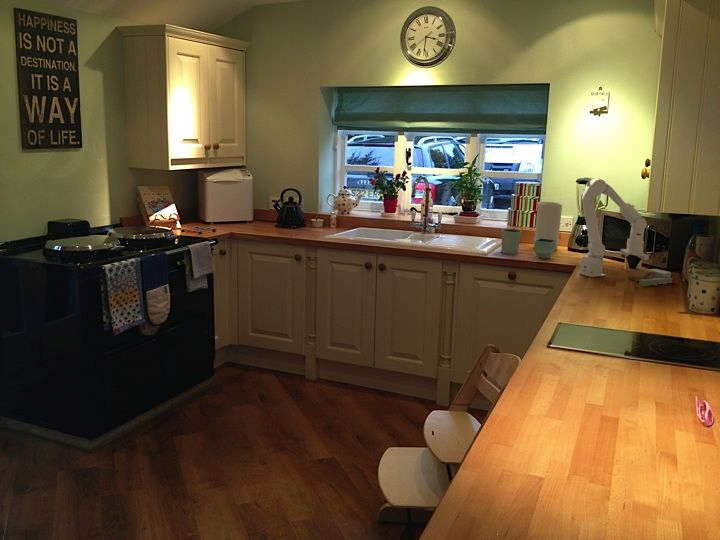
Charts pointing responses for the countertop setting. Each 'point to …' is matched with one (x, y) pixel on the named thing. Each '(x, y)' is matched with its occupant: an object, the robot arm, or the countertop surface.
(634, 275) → the walnut block
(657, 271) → the grey-blue block
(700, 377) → the countertop surface
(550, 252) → the flower pot
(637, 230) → the robot arm
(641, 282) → the stop rail
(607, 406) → the countertop surface
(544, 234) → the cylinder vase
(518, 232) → the green tapered cup
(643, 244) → the candy box
